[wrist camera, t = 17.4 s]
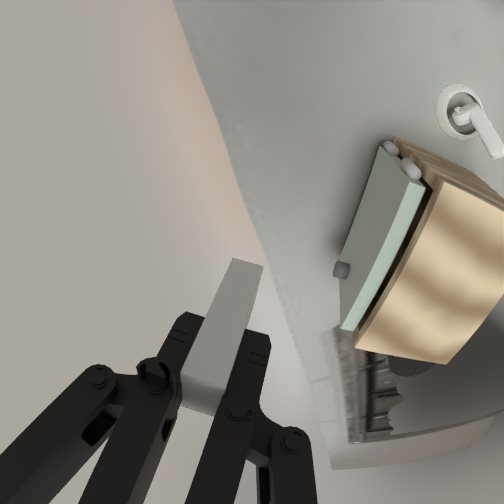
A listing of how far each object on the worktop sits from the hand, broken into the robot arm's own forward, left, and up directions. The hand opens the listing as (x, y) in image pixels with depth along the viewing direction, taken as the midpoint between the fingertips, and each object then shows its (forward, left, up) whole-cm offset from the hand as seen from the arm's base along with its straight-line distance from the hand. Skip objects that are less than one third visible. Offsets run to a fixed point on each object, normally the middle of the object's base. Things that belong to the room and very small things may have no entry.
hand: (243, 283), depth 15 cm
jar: (+19, +25, -27) cm, 41 cm away
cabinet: (+3, +18, -26) cm, 32 cm away
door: (+4, +10, -25) cm, 27 cm away
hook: (-13, +20, -27) cm, 36 cm away
